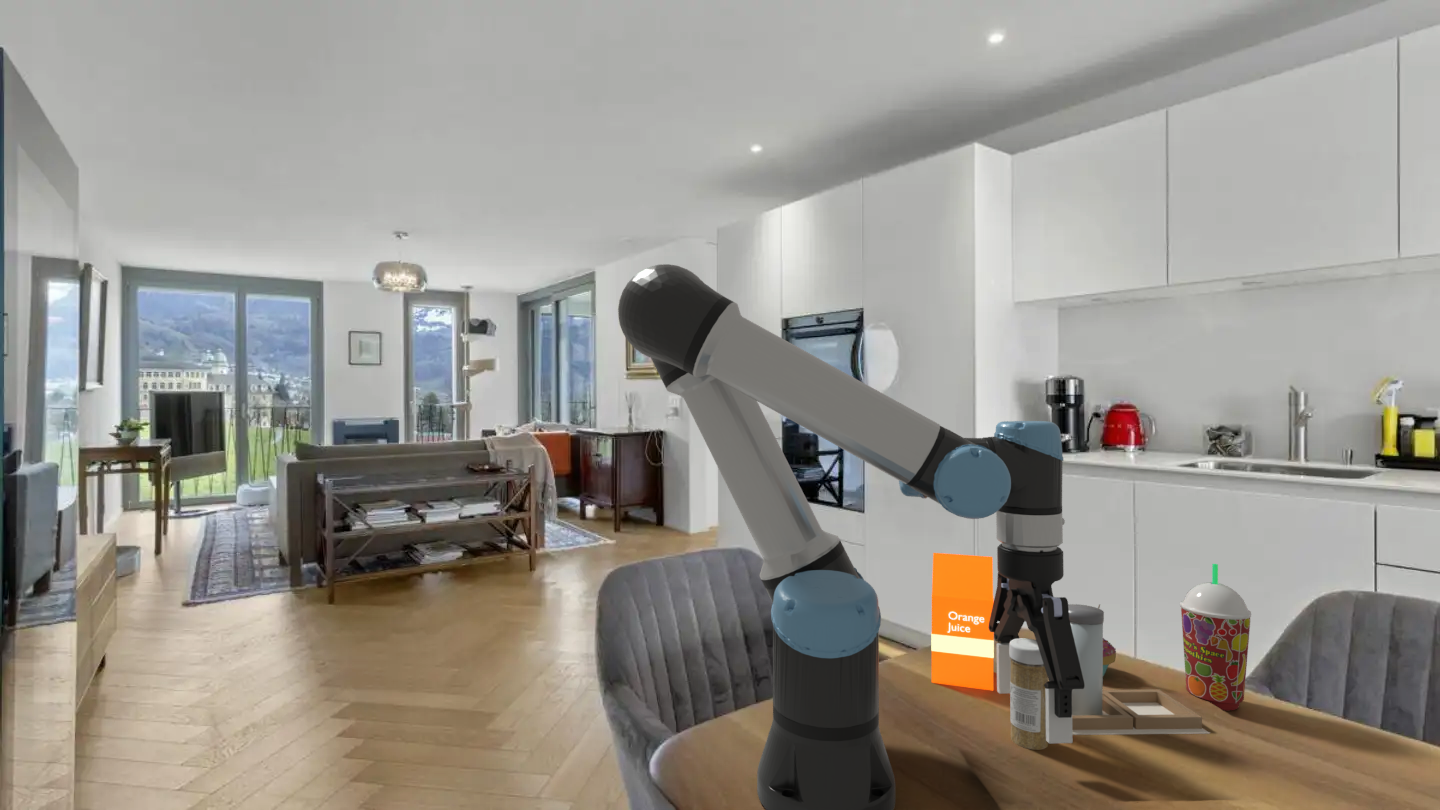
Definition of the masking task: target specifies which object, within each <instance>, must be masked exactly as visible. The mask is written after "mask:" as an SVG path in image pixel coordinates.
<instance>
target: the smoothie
mask: <svg viewBox="0 0 1440 810" xmlns="http://www.w3.org/2000/svg"><path fill="white" fill-rule="evenodd" d="M1211 568H1212V571H1211V576H1212V577H1211V582H1202V583H1199V584H1197V585H1195V586H1193V587H1192V588H1191V589H1190V590H1188V592H1187V593H1186V595H1185V596H1184V599H1183V600H1181V601H1180V602H1179V606H1180V611H1181V626H1182V627H1181V628H1182V641H1183V658H1184V660H1183V661H1184V672H1185V690H1186V691H1187V692H1189V693H1190V694H1191V695H1193V696H1195V697H1196V698H1200V699H1202V700H1205V701H1207V702H1208V703H1210V704H1211V705H1213V706H1215V707H1217V708H1218V709H1220V710H1222V711H1224V710H1225V712H1227V711H1230V710H1231V711H1234V710H1238V709H1239V708H1240V703H1242V702H1243V701H1244V700H1245V690H1246V689H1245V688H1246V675H1247V665H1248V653H1249V651H1248V650H1249V642H1250V628H1251V617H1252V611H1250V610H1249V609H1248V606H1247V605H1246V603H1245V600H1244V599H1243V597H1242V596H1241V595H1240V594H1239V593H1238V592H1237V591H1236V590H1234V589H1233V588H1231V587H1229V586H1228V585H1226V584H1223V583H1219V564H1217V563H1212V567H1211Z"/></svg>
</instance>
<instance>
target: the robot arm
mask: <svg viewBox="0 0 1440 810" xmlns="http://www.w3.org/2000/svg"><path fill="white" fill-rule="evenodd" d="M618 301H619V302H618V309H617V313H618V322H619V323H618V324H619V326H620V328H621V331H622V334H623V335H624V337H625V338H626V340H627V342H628V343H629V344H630V345H631V347H633V348H634V349H635V350H636V351H638V352H639V353H640V354H643V355H644V356H646V357H648V358H650V359H651V361H652V363H653V366H654V367H655V369H656V371H657V373H658V376H660V379H661V381H662V383H663V385H664V387H665V389H666V391H667V392H669V393H672V394H675V395H677V396H680V397H681V398H683V400H684V402H685V404H686V405H687V408H688V410H689V412H690V414H691V416H692V418H693V419H694V422H695V424H696V426H697V428H698V430H699V432H700V434H701V436H702V438H703V440H704V442H705V444H706V446H707V448H708V450H709V452H710V454H711V456H712V458H713V460H714V462H715V464H716V466H717V468H718V470H719V472H720V474H721V476H722V478H723V480H724V482H725V485H726V487H727V488H728V489H729V492H730V494H731V496H732V498H733V500H734V502H735V505H736V506H737V509H738V510H739V513H740V514H741V517H742V518H743V520H744V523H745V524H746V527H747V528H748V531H749V532H750V534H751V536H752V538H753V541H754V542H755V545H756V546H757V549H758V551H759V552H760V554H761V556H762V560H763V563H762V565H761V568H760V569H761V570H760V572H759V575H758V576H759V578H760V580H761V583H762V584H763V587H764V588H765V590H766V592H767V595H768V597H769V598H770V601H771V603H772V604H771V610H770V616H771V617H770V619H771V622H772V680H773V681H772V723H771V725H770V729H769V732H768V735H767V738H766V741H765V745H764V746H763V750H762V753H761V756H760V760H759V762H758V766H757V775H756V780H757V781H756V782H757V783H756V784H757V788H756V791H757V796H758V797H757V798H758V800H759V801H760V804H761V805H762V806H763V808H764V809H765V810H894V809H895V807H896V780H895V775H894V772H893V768H892V765H891V763H890V759H889V756H888V753H887V750H886V747H885V743H884V740H883V737H882V733H881V730H880V723H879V721H880V718H879V717H880V712H879V711H880V696H879V695H880V693H879V692H880V690H879V689H880V684H879V683H880V675H879V674H880V671H879V670H880V666H879V665H880V653H879V652H880V650H879V649H880V644H879V643H880V642H879V641H880V627H881V625H882V623H881V621H882V614H881V610H880V607H879V598H878V597H879V596H878V595H877V592H876V591H875V589H874V587H873V586H872V585H871V584H870V583H869V582H867V581H866V580H865V579H864V577H863V576H862V574H861V573H860V572H859V571H858V570H857V568H856V567H854V564H853V563H852V560H851V559H850V557H849V554H848V553H847V551H846V549H845V546H844V545H843V542H842V541H841V539H840V538H839V536H838V535H836V534H832V533H831V532H827V531H825V530H823V529H822V527H821V525H820V523H819V521H818V520H817V517H816V515H815V513H814V512H813V510H812V508H811V505H810V504H809V501H808V499H807V498H806V495H805V494H804V492H803V491H804V490H803V489H802V487H801V486H800V484H799V481H798V480H797V477H796V476H795V474H794V472H793V469H792V467H791V466H790V464H789V462H788V460H787V458H786V456H785V454H784V452H783V449H782V448H781V446H780V444H779V441H778V440H777V438H776V436H775V434H774V432H773V430H772V428H771V426H770V424H769V422H768V420H767V418H766V416H765V414H764V412H763V410H762V408H761V406H760V404H762V405H763V406H765V407H767V408H769V409H770V410H772V411H774V412H775V413H778V414H780V415H782V416H783V417H785V418H787V419H788V420H790V421H792V422H794V423H796V424H797V425H799V426H801V427H802V428H804V429H806V430H808V431H810V432H812V433H813V434H815V435H817V436H819V437H820V438H822V439H824V440H826V441H827V442H829V443H831V444H833V445H835V446H837V447H839V448H841V449H842V450H844V451H846V452H847V453H849V454H850V455H853V456H855V457H856V458H858V459H860V460H861V461H863V462H865V463H867V464H869V465H871V466H872V467H875V468H876V469H878V470H880V471H882V472H884V473H885V474H886V475H888V476H891V477H892V478H894V479H896V480H898V484H899V489H900V492H901V493H902V494H903V495H904V496H906V497H911V498H912V497H913V498H914V497H915V498H921V499H927V498H929V499H930V500H932V501H934V502H936V503H937V504H939V505H941V507H942V508H943V509H945V510H946V511H947V512H949V513H951V514H953V515H956V516H957V517H960V518H964V519H969V520H978V519H979V520H980V519H984V518H987V517H989V516H992V515H994V514H995V515H996V516H995V517H996V518H995V519H996V522H995V523H996V540H997V541H999V542H1000V544H999V545H998V546H997V548H996V549H997V550H996V552H997V553H996V555H997V559H996V560H997V562H996V563H997V579H996V580H997V583H996V585H997V586H996V590H995V595H994V603H993V607H992V612H991V616H990V621H989V627H988V628H989V631H990V632H994V642H996V692H997V693H998V694H999V695H1001V694H1010V680H1011V660H1010V655H1009V644H1010V641H1011V640H1013V639H1018V638H1020V635H1019V633H1020V631H1021V629H1022V627H1023V625H1024V623H1025V622H1026V626H1027V629H1028V630H1029V631H1031V632H1032V633H1033V635H1034V638H1035V640H1036V642H1037V645H1038V648H1039V651H1040V654H1041V657H1042V660H1043V664H1044V667H1045V670H1046V673H1047V676H1048V681H1047V682H1046V683H1045V685H1044V687H1045V699H1046V741H1047V742H1048V745H1049V744H1073V741H1074V740H1073V735H1072V690H1073V689H1084V686H1085V685H1084V680H1083V675H1082V671H1081V667H1080V662H1079V658H1078V654H1077V650H1076V645H1075V641H1074V637H1073V633H1072V628H1071V624H1070V620H1069V609H1068V604H1069V601H1068V599H1067V597H1065V596H1064V597H1062V596H1061V597H1057V596H1056V597H1055V596H1054V594H1053V588H1052V586H1053V584H1054V583H1055V582H1058V581H1061V580H1062V579H1063V577H1064V574H1065V573H1064V551H1063V550H1062V548H1061V547H1060V546H1061V545H1062V544H1063V535H1064V534H1063V530H1064V529H1063V525H1065V523H1066V522H1065V521H1066V520H1065V518H1064V517H1063V462H1064V457H1063V447H1062V443H1063V442H1062V436H1061V430H1060V427H1059V426H1058V425H1057V424H1056V423H1055V422H1052V421H1047V420H1044V421H1043V420H1013V421H1012V420H1009V421H1008V420H1007V421H1005V420H1004V421H999V422H998V423H997V424H996V426H995V432H994V433H993V436H987V437H963V436H962V435H959V434H957V433H955V432H954V431H952V430H950V429H948V428H945V427H944V426H941V424H939V423H937V422H935V421H934V420H932V419H930V418H929V417H926V416H925V415H923V414H921V413H919V412H918V411H915V410H914V409H912V408H910V407H909V406H907V405H904V404H903V403H901V402H899V401H897V400H895V399H894V398H892V397H889V396H888V395H886V394H885V393H882V392H880V391H879V390H877V389H875V388H873V387H871V386H870V385H868V384H866V383H865V382H863V381H860V380H858V379H857V378H855V377H853V376H851V375H849V374H848V373H847V372H845V371H842V370H841V369H839V368H837V367H835V366H833V365H832V364H829V363H828V362H826V361H825V360H822V359H820V358H819V357H816V356H814V355H813V354H811V353H810V352H807V351H806V350H804V349H802V348H800V347H799V346H796V345H794V343H791V342H789V341H787V340H785V339H784V338H783V337H780V336H778V335H776V334H775V333H773V332H771V331H770V330H767V329H765V328H764V327H762V326H759V324H756V323H754V322H753V321H751V320H749V319H747V318H746V317H744V316H743V315H742V314H741V311H740V307H739V305H738V303H737V302H735V301H733V300H731V299H729V298H727V297H725V296H724V295H723V294H721V293H719V292H717V291H716V290H714V289H713V288H712V287H710V286H709V285H708V284H706V283H705V282H704V281H703V280H702V279H700V277H699V276H698V275H696V274H695V273H694V272H692V271H690V270H689V269H687V268H685V267H681V266H679V265H675V264H666V263H665V264H664V263H663V264H655V265H651V266H649V267H647V268H645V269H642V270H640V271H638V273H636V274H635V275H634V276H633V277H632V278H631V279H630V280H628V282H627V284H626V285H625V287H624V288H623V290H622V293H621V295H620V298H619V300H618ZM759 403H760V404H759Z"/></svg>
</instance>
